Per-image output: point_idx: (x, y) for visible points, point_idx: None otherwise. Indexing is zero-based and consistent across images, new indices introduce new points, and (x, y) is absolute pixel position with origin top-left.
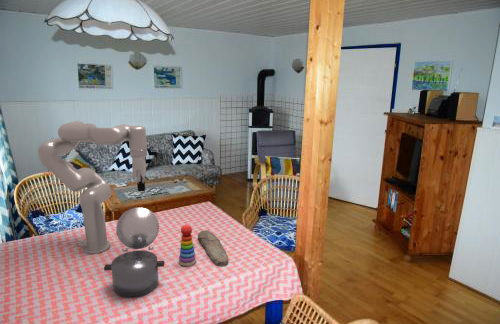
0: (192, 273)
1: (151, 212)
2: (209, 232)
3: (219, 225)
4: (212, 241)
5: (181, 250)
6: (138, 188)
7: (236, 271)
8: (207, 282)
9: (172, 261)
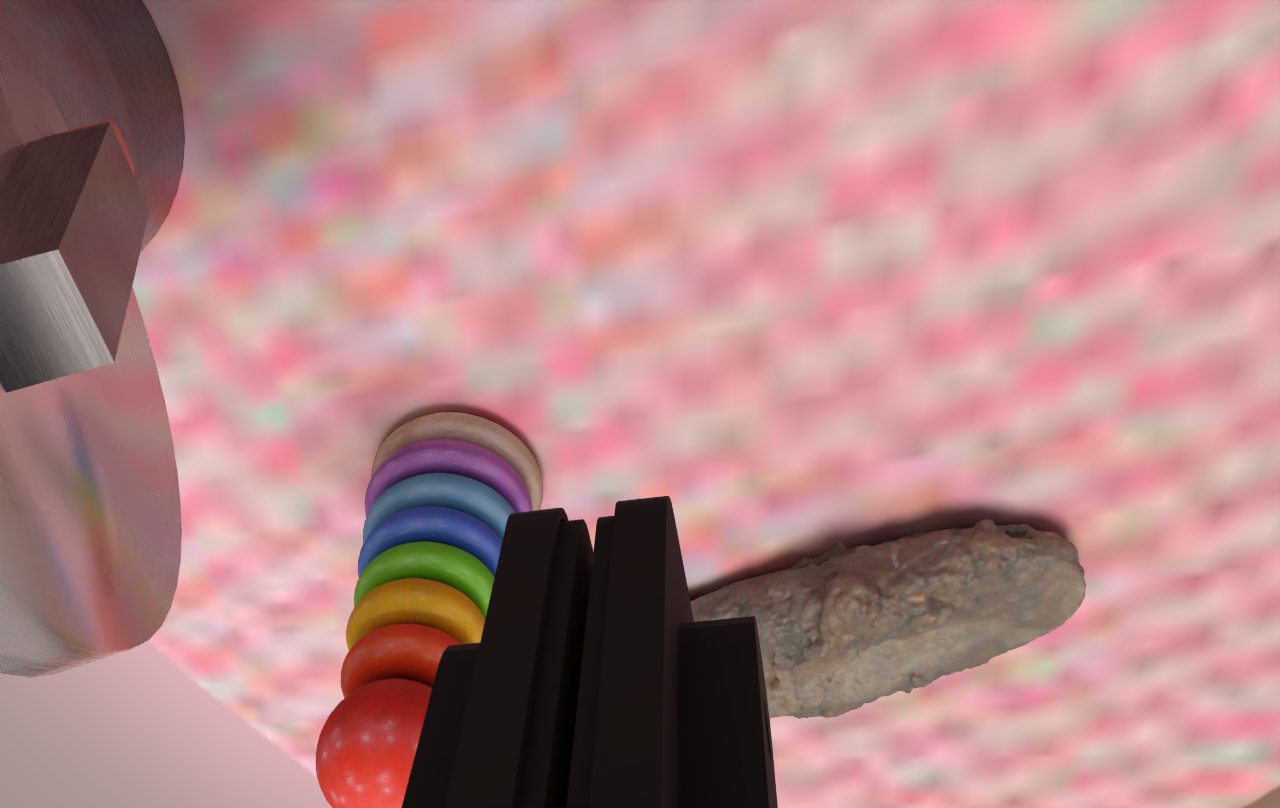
0: (287, 530)
1: (16, 671)
2: (1019, 632)
3: (1267, 662)
4: (768, 682)
5: (374, 537)
6: (501, 626)
7: None
8: (190, 635)
9: (463, 340)
